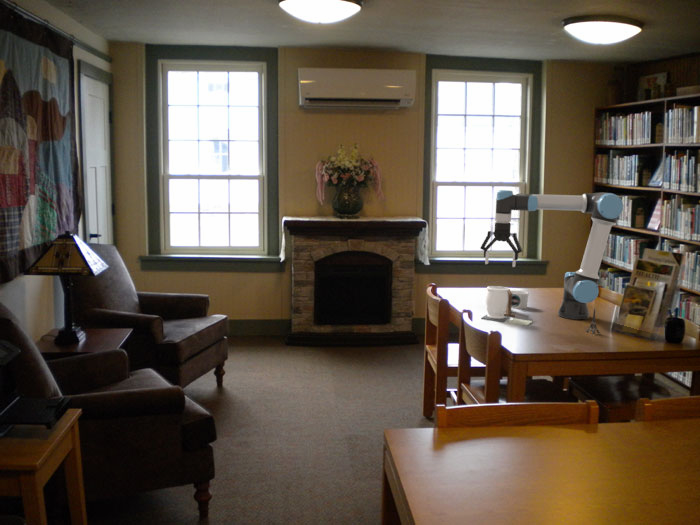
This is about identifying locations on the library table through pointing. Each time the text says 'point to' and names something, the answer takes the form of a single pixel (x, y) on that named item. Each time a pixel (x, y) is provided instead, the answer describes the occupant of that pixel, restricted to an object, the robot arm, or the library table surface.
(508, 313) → the screen
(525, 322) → the sage mat
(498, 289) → the jar
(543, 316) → the library table surface
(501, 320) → the grey mat
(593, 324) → the eiffel tower figurine
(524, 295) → the mug
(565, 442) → the library table surface
